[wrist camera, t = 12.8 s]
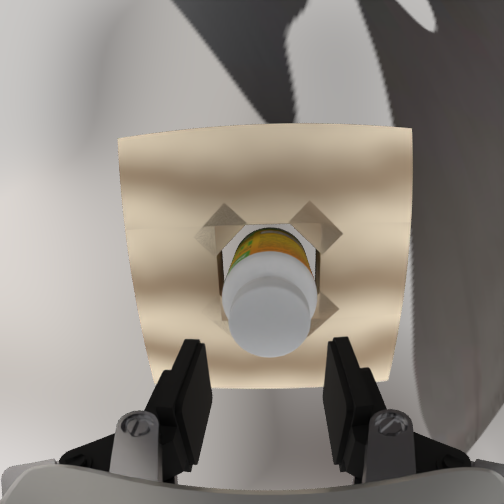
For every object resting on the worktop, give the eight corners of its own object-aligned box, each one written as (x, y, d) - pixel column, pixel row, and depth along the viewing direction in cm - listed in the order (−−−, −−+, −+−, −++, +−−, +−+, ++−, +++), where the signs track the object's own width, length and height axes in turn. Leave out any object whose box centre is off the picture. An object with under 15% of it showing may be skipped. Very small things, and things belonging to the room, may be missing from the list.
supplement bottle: (245, 216, 24) (229, 256, 14) (315, 238, 24) (342, 290, 15) (226, 282, 25) (202, 353, 16) (292, 302, 25) (302, 379, 16)
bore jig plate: (131, 139, 22) (117, 138, 20) (398, 130, 21) (411, 128, 19) (162, 367, 28) (154, 383, 26) (380, 364, 27) (387, 380, 24)
